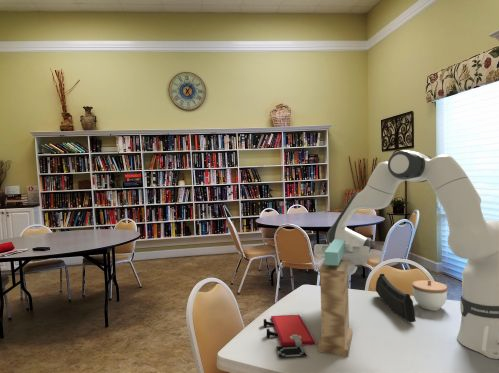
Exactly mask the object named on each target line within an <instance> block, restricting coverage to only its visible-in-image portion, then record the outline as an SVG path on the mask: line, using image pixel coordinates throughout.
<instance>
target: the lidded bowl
mask: <svg viewBox="0 0 499 373" xmlns="http://www.w3.org/2000/svg"><path fill="white" fill-rule="evenodd" d="M411 287H412V295H413V298H414V300H415V301H416V302H417V304H418V305H419V306H420V308H422V309H424V310H427V311H429V310H430V311H439V310H440V309H441V308H442V307H443V306H444V305H445V304H446V303H447V302H446V301H447V297H448V286H447V285H446V284H444V283H441V282H439V281H435V280H431V279H427V280H426V279H425V280H415V281H413V282H412V286H411Z"/></svg>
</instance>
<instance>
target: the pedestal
mask: <svg viewBox="0 0 499 373" xmlns="http://www.w3.org/2000/svg"><path fill="white" fill-rule="evenodd" d="M348 265H349V260H342V259H341V261H340V263H339V265H325V259H324V260H323V261H322V262H321V264H320V265H319V267H318V268H317V273H320V274H319V276H320V277H319V280H320V281H319V282H320V315H321V316H320V317H321V319H320V320H321V323H320V324H321V337H320V339H319V342H318V345H317V347H318V348H317V349H318V350H317V351H318V352H319V353H325V354H332V355H337V356H343V357H349V354H350V348H351V344H352V341H353V340H352V339H353V328H350V315H349V314H350V312H349V311H350V309H349V308H350V307H349V304H350V303H349V275H348Z"/></svg>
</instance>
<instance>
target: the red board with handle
mask: <svg viewBox="0 0 499 373" xmlns="http://www.w3.org/2000/svg"><path fill="white" fill-rule="evenodd" d="M270 319H271V321H272V322H271V321H267V319H266V318H264V319H263V328H264V329H265V328H266V339H268V340H269V339H271V336H272V337H276V338H278V341H279V344H280V346H278V345H276V350H277V353H278V357H279V358H284V357H285V358H286V357H287V358H289V357H302V356H303V357H304V356H306V357H307V356H308V354H307V353H306V350H305V349H304V347H303V346H308V345H309V346H310V345H312V346H313V345H316V341H315V339H314V337H313V335H312V334H311V332H310V331H309V329H308V326H306V325H307V324H306V323H305V321H304V320H303V318H302V317H301V315H300V314H289V315H288V314H285V315H284V314H283V315H271V316H270ZM268 326H270V327H274V329H275V330H274V331H275V332H273V331H271V330H270V328H268Z"/></svg>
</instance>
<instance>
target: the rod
mask: <svg viewBox="0 0 499 373" xmlns="http://www.w3.org/2000/svg"><path fill="white" fill-rule="evenodd" d="M345 244H346V242H345V240H342V239H334V240H333V242H332V243H331V244H330V246H329V247H328V248H327V249H326V251H325V252H324V253H325V259H324V260H325V265H339V263H340V261H341V259H342V257H343V255H344V253H345V251H346V249H345Z"/></svg>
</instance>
